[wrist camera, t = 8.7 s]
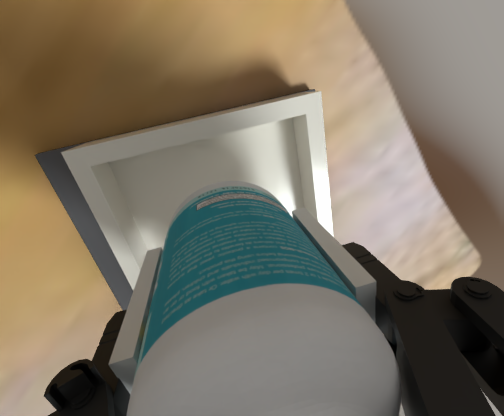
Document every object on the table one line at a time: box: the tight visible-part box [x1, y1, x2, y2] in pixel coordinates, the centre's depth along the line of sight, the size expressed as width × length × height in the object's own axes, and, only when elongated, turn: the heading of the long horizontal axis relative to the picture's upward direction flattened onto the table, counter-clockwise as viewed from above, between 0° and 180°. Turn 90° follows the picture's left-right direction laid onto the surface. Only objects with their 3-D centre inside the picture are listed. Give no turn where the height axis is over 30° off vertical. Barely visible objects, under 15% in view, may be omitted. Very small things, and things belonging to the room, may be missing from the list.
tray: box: [61, 91, 333, 291], centre depth 18 cm, size 14×14×3 cm
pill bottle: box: [127, 181, 402, 416], centre depth 10 cm, size 8×7×14 cm
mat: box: [35, 89, 315, 310], centre depth 20 cm, size 18×14×1 cm
